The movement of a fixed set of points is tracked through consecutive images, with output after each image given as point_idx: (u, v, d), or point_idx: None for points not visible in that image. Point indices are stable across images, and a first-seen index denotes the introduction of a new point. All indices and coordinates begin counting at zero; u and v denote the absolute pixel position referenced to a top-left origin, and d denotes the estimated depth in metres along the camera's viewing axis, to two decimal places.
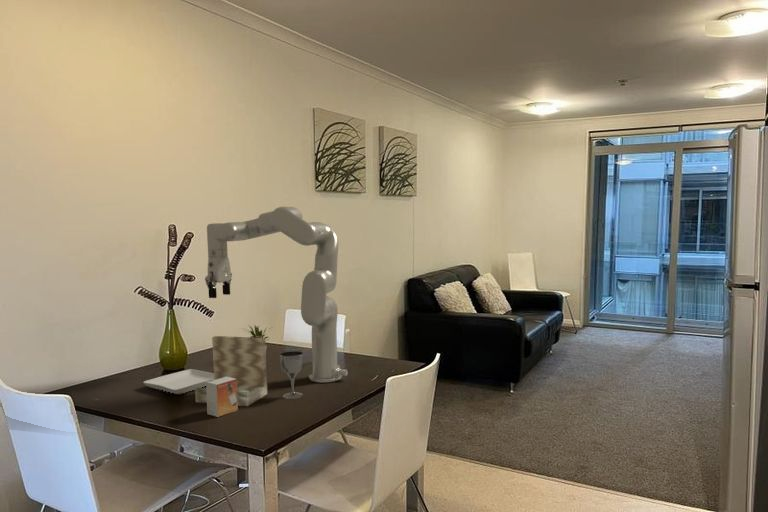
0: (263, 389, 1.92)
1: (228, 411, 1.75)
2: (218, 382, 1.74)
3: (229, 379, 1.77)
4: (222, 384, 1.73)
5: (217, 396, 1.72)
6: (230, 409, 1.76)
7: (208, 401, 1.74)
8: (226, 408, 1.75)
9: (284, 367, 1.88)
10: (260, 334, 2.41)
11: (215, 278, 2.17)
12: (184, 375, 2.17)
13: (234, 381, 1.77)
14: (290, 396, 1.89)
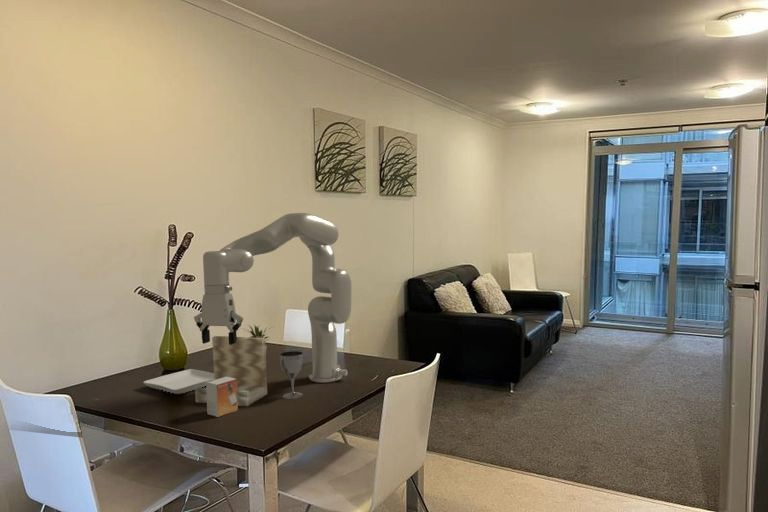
0: (263, 389, 1.92)
1: (228, 411, 1.75)
2: (218, 382, 1.74)
3: (229, 379, 1.77)
4: (222, 384, 1.73)
5: (217, 396, 1.72)
6: (230, 409, 1.76)
7: (208, 401, 1.74)
8: (226, 408, 1.75)
9: (284, 367, 1.88)
10: (260, 334, 2.41)
11: (235, 318, 1.75)
12: (184, 375, 2.17)
13: (234, 381, 1.77)
14: (290, 396, 1.89)
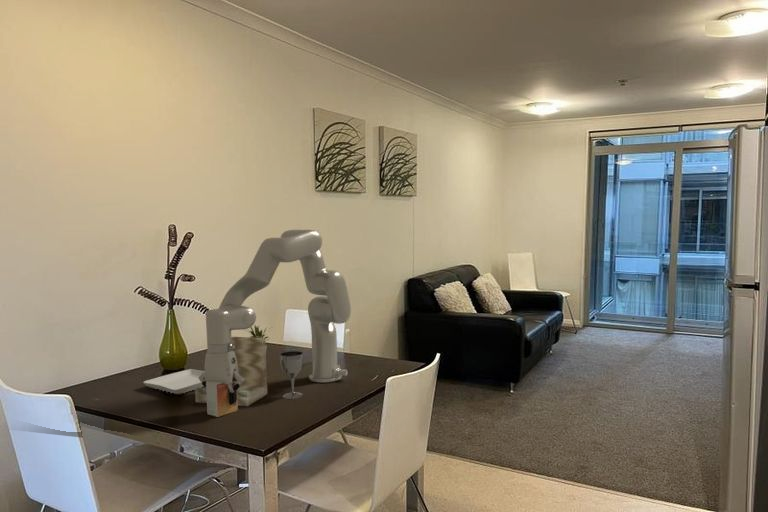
0: (263, 389, 1.92)
1: (228, 411, 1.75)
2: (218, 382, 1.74)
3: None
4: (222, 384, 1.73)
5: (217, 396, 1.72)
6: (230, 409, 1.76)
7: (208, 401, 1.74)
8: (226, 408, 1.75)
9: (284, 367, 1.88)
10: (260, 334, 2.41)
11: None
12: (184, 375, 2.17)
13: None
14: (290, 396, 1.89)
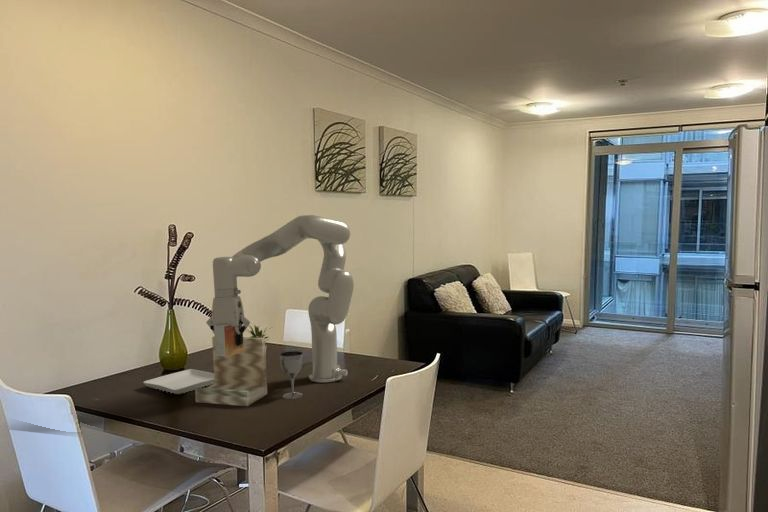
0: (263, 389, 1.92)
1: (235, 352, 1.87)
2: (225, 325, 1.85)
3: None
4: (229, 327, 1.85)
5: (225, 337, 1.83)
6: (236, 351, 1.87)
7: (216, 343, 1.86)
8: (233, 349, 1.86)
9: (284, 367, 1.88)
10: (260, 334, 2.41)
11: None
12: (184, 375, 2.17)
13: None
14: (290, 396, 1.89)
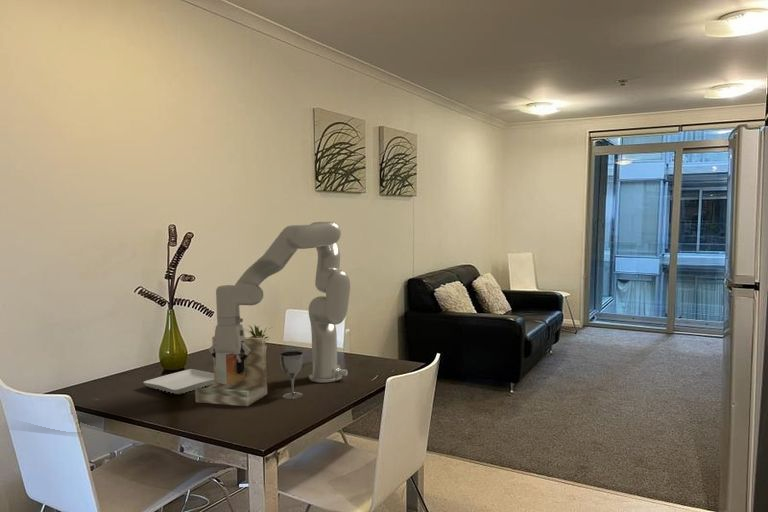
0: (263, 389, 1.92)
1: (236, 380, 1.89)
2: (227, 353, 1.87)
3: None
4: (231, 355, 1.87)
5: (226, 365, 1.86)
6: (237, 378, 1.90)
7: (217, 370, 1.88)
8: (234, 377, 1.88)
9: (284, 367, 1.88)
10: (260, 334, 2.41)
11: None
12: (184, 375, 2.17)
13: None
14: (290, 396, 1.89)
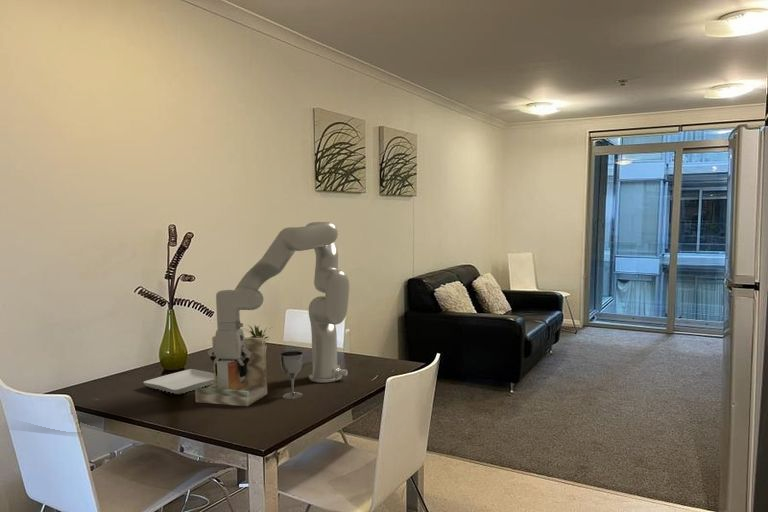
0: (263, 389, 1.92)
1: (237, 388, 1.89)
2: (228, 361, 1.88)
3: None
4: (232, 363, 1.87)
5: (228, 373, 1.86)
6: (239, 386, 1.90)
7: (219, 379, 1.88)
8: (236, 385, 1.89)
9: (284, 367, 1.88)
10: (260, 334, 2.41)
11: None
12: (184, 375, 2.17)
13: None
14: (290, 396, 1.89)
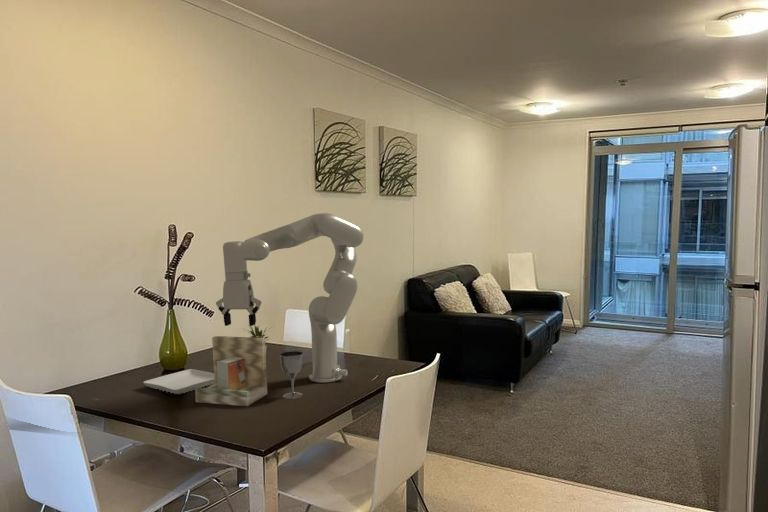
0: (263, 389, 1.92)
1: (237, 388, 1.89)
2: (228, 361, 1.88)
3: (238, 358, 1.91)
4: (232, 363, 1.87)
5: (228, 373, 1.86)
6: (239, 386, 1.90)
7: (219, 379, 1.88)
8: (236, 385, 1.89)
9: (284, 367, 1.88)
10: (260, 334, 2.41)
11: (253, 302, 1.93)
12: (184, 375, 2.17)
13: (243, 360, 1.91)
14: (290, 396, 1.89)
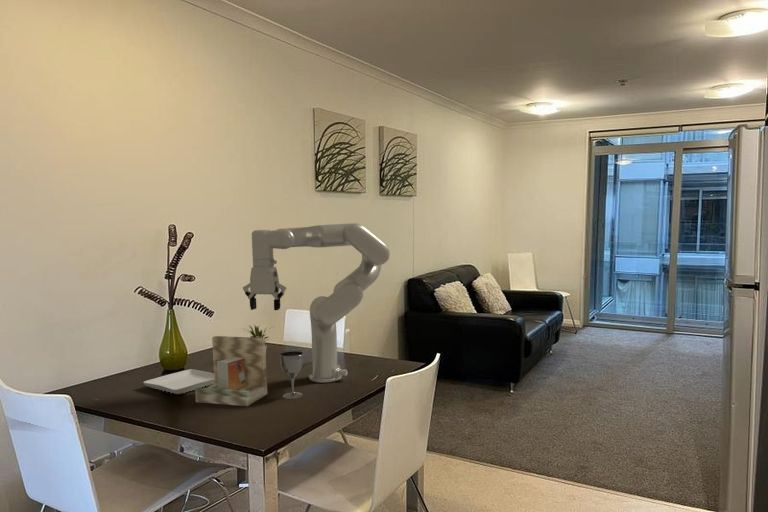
0: (263, 389, 1.92)
1: (237, 388, 1.89)
2: (228, 361, 1.88)
3: (238, 358, 1.91)
4: (232, 363, 1.87)
5: (228, 373, 1.86)
6: (239, 386, 1.90)
7: (219, 379, 1.88)
8: (236, 385, 1.89)
9: (284, 367, 1.88)
10: (260, 334, 2.41)
11: (278, 288, 2.03)
12: (184, 375, 2.17)
13: (243, 360, 1.91)
14: (290, 396, 1.89)
